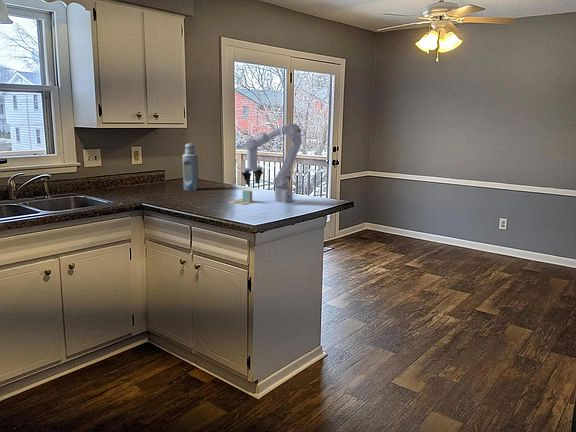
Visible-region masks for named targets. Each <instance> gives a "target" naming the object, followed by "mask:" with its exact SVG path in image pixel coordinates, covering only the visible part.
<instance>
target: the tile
mask: <svg viewBox="0 0 576 432" xmlns="http://www.w3.org/2000/svg"><path fill="white" fill-rule="evenodd" d="M242 199H243V201H245V202H252V200H253V191H251V190H246V189H245V190H242Z"/></svg>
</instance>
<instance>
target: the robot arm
mask: <svg viewBox="0 0 576 432" xmlns="http://www.w3.org/2000/svg"><path fill="white" fill-rule="evenodd" d="M281 135H286V137H287V138H288V139H289V141H290V146H289V148H288V150H287V153H286V155H285V157H284V161H283V163H282V165H281V167H280V170H279V171H278V172H277V174H276V175H275V177H273V184H274V201H275V202H276V203H282V204H285V205H287V204H288V203H290V204H291V203H292V204H293V190H292V188H291V187H289V182H290V176H291V170H292V168H293V164H294V162H295V159H297V158H296V157H297V155H298V153H299V150H300V147H301V146H302V143H303V141H302V129H301V128H300V125H298V124H297V123H287V124H284V125H282V126H279V127H277V128H275V129H273V130H272V131H270V132H267V133H266V132H259V134H258V135H257V136H254V135H253V136H252V138H248V139H247V140H246V141H245V144H244V145H245V148H246V161H247V162H246V163H247V167H245V168H242V169H241V175H242V176H243V178H244V181H245V185H246V186H247V185H248V186H250V185H251V176H252V173H254V179H255V184H258V185H259V184H260V181H261V178H262V175H263V170H264V169H263V166H258V148H259V147H261V146H263V145H266V144H268V143H269V141H270V140H271V139H273V138H275V137H278V136H281Z"/></svg>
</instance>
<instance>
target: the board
mask: <svg viewBox="0 0 576 432" xmlns="http://www.w3.org/2000/svg"><path fill="white" fill-rule="evenodd" d="M228 203H230V204H237V205H242V206H247V205H252V204H256V203H257V204H258V203H260V200H259V201H258V200H253V199H252V202H245V201H243V198H241V199H236V200H235V199H234V200H231V201H230V200H229V201H228Z"/></svg>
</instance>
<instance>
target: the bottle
mask: <svg viewBox="0 0 576 432" xmlns="http://www.w3.org/2000/svg"><path fill="white" fill-rule="evenodd" d="M198 159H199V158H198V154H196V151H195V144H193V143H186V144H185V145H184V154H182V180H183V190H184V191H197V190H199V169H198V168H199V162H198Z"/></svg>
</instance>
